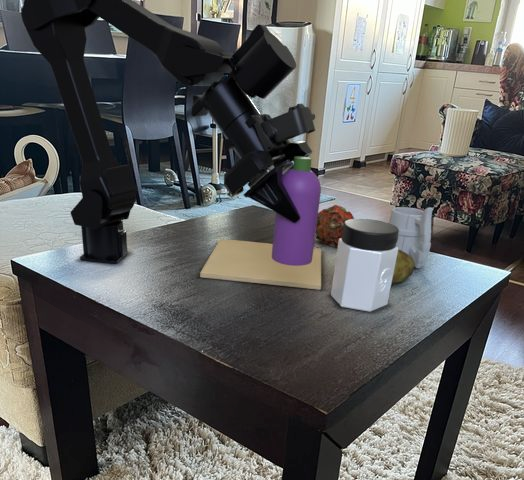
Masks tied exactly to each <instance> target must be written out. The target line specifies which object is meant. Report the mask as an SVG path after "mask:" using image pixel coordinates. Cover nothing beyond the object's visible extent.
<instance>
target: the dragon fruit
mask: <svg viewBox="0 0 524 480" xmlns="http://www.w3.org/2000/svg"><path fill="white" fill-rule="evenodd" d="M351 219H355V217H354V215H353V214H352V213H351V211H347V209H346V207H344V206H341V205H338V204H334V205H332V206H330V207H327V208H323V209H322V210H320V211H318V218H317V225H316V233H315V239H316V240H317V241H318V242H319V243H322V244H326V245H328V246H330V247H333V248H338V241H339V239H340V238H342V233H343V226H344V223H345V222H346V221H347V220H351Z"/></svg>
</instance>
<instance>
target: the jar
mask: <svg viewBox="0 0 524 480" xmlns="http://www.w3.org/2000/svg"><path fill="white" fill-rule="evenodd" d="M398 233H399V229H398V228H397V227H396V226H394V225H392V224H390V223H389V222H387V221H384V220H378V219H372V218H371V219H370V218H354V219H351V220H347V221H346V222H345V223H344V226H343V233H342V238H340V239H339V241H338V246H337V247H336V248H337V249H336V255H335V262H334V270H333V276H332V283H331V291H330V296H331V298H333V299H334V300H335V302H336V303H337V304H338V305H339V306H340V307H341V308H346V309H351V310H357V311H364V312H368V313H371V312H373V311H376V310H378V309H380V308H383V307H386V306H387V305H388V303H389V297H390V293H391V292H390V291H391V289H392V284H391V283H392V278H393V273H394V268H395V263H396V258H397V254H398V247H397V246H396V243H397V241H398Z"/></svg>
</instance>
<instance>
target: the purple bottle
mask: <svg viewBox="0 0 524 480" xmlns="http://www.w3.org/2000/svg"><path fill="white" fill-rule="evenodd" d="M312 160H313V159H312V158H311V157H309V156H308V157H302V156H296V157H294V163H293V169H291V170H289V171H287V172H286V173H285V174H284V175H283V176H282V182H283V185H284V186H285V188H286V190H287V192H288V194H289V196H290V198H291V199H292V201H293V203H294V205H295V207H296V209H297V211H298V213H299V215H300V220H298V221H297V222H296V223H293V222H292V221H290V220H288V219H287V218H285V217H283V216H282V215H280V214H278V213H276V212H275V214H274V224H273V225H274V226H273V235H272V236H273V237H272V244H273V247H272V259H273V260H274V261H276V262H278V263H281V264H285V265H292V266H302V265H307V264H310V263H311V262H312V256H313V248H315V241H316V225H317V218H318V213H319V209H320V203H321V202H320V201H321V193H322V185H321V182H320V179H319V177H318V176H317V174H316V173H315V172H314V171H312V170H311V169H312V168H311V167H312Z"/></svg>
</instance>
